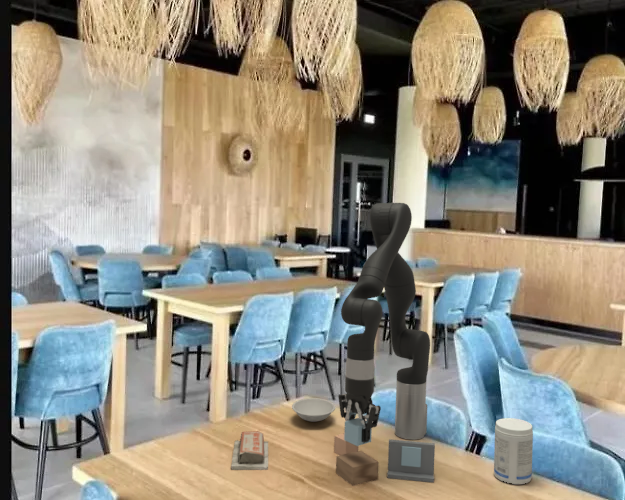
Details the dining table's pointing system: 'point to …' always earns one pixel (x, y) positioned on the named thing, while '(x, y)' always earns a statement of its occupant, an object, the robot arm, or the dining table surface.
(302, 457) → the dining table surface
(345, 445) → the terracotta block
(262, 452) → the packaged product
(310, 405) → the dish
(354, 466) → the walnut block
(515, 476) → the supplement tub
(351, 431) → the blue block
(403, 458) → the display stand
